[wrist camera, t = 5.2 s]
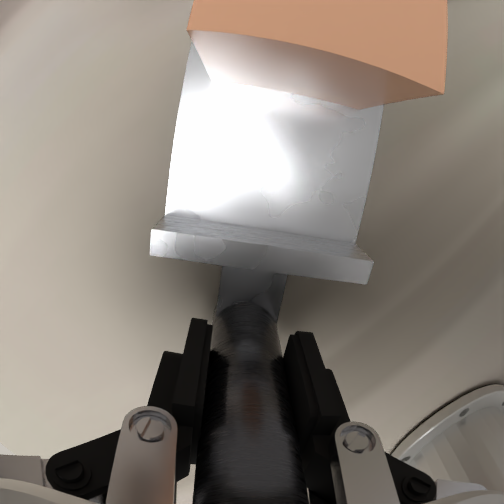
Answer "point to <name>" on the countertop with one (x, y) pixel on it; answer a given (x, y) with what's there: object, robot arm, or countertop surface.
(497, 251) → the countertop surface
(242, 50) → the block
